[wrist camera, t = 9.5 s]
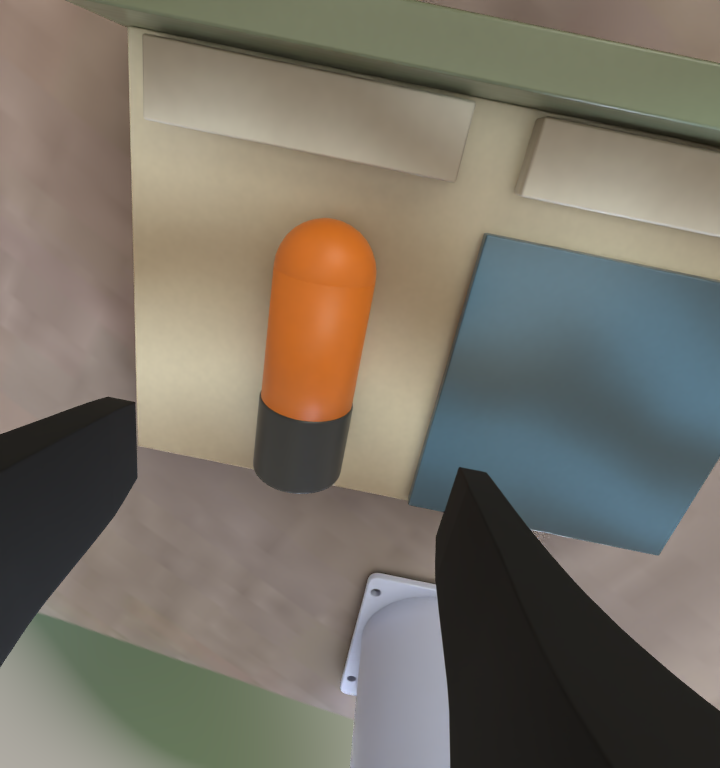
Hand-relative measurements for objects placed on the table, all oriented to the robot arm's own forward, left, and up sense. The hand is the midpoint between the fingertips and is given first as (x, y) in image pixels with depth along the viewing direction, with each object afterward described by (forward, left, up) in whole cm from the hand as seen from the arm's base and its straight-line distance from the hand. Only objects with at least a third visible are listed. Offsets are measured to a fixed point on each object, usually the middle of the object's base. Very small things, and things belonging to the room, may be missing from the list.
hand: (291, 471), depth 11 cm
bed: (+2, -3, -9) cm, 10 cm away
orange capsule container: (0, +2, -6) cm, 7 cm away
